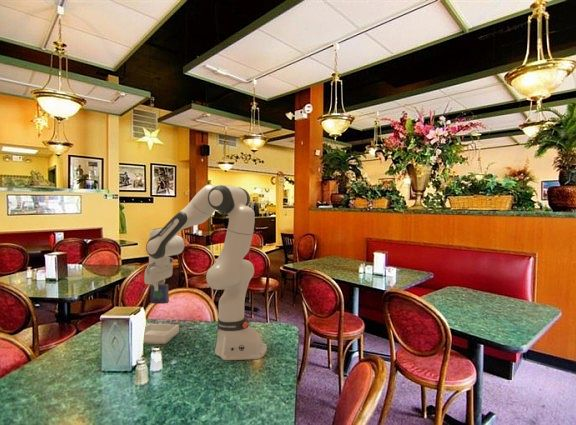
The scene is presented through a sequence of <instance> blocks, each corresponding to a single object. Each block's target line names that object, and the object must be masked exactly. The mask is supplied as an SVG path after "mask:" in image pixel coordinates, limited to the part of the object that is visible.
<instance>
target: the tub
mask: <svg viewBox="0 0 576 425" xmlns="http://www.w3.org/2000/svg"><path fill="white" fill-rule="evenodd" d="M145 326H146V327H145V334H144V343H143V344H148V345H166V344H167V343H168V342H170V341H171V340H172V339H173V338H174V337H175V336H177V335H178V334H180V325H179V324H169V323H167V324H166V323H146V325H145Z"/></svg>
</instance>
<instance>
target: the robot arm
mask: <svg viewBox="0 0 576 425" xmlns="http://www.w3.org/2000/svg"><path fill="white" fill-rule="evenodd" d="M250 202H251V196H250V193H249V192H248V191H247V190H246V189H245V188H242V187H240V186H239V187H237V186H233V185H213V184H206V185H205V186H204V187H203V186H202V188H201V189H200V190H199V191H198V192H197V193H196V194H195V195H194V197H192V199H191V200H190V202H188V203H187V204H186V205H185V207H184V208H182V209H181V210H180V211H178V212H177V213H176V214H175V215H174V216H173V217H172V218H171V219H170V220H169V221H168V222H167V223H165V225H164V226H163V227H159V228H154V229H152V230H151V231H150V232H149V237H148V240H147V242H146V245H145V251H146V253H147V254H148V264H147V266H146V268H145V269H144V270H145V271H144V275H143V276H144V279H143V280H144V284H145V285H151V284H153V286H154V290H155V291H158V290H159V287H158V281H161V282H160V284H165V283H166V279H169V278H170V277H172V275H173V272H174V271H173V269H174V268H173V267H174V266H173V265H174V264H173V263H174V258H172V256H177V255H180V254H182V253H183V252H184V250H185V247H186V246H185V245H186V244H185V243H186V242H185V240H184V238H183V237H182V236H181V235H178V234H179V233H180V232H181V231H183V230H184V229H185V230H186V229H187V228H190V227H194V226H199V225H202V224H203V223H205V222H206V221H208V219H210V217H212V215H213V213H215V211H217V212H219V213H220V214H222V215H224V216H225V215H227V216H228V225H227V230H226V235H225V239H224V242H223V245H222V249H221V251H220V253H219V255H218V257H217V259H216V260H215V262H214V263H213V265H211V267H209V269H208V270H207V271H206V275H205V277H206V279H205V280H206V283H207V285H208V287H209V288H210V289H213V290H214V291H215V290H221V291H222V290H223V293H222V295H221V296H220V298H219V301H218V318H217V324H216V326H217V327H216V328H217V338H216V346H215V349H214V354H215V355H216V356H218V357H220V358H221V360H223V361H237V360H238V361H239V360H240V361H241V360H242V361H243V360H259V359H261V358H263V357H264V356H265V355H266V353H267V351H268V346H267V344H266V343H264V342H263V341H262V336H261V334H260V333H259V332H258V331H256V330H255V329H254V328H253V327H251V326H250V325H249V324H250V318H249V317H248V318H247V317H246V316H245V300H246V294H247V290H248V287H249V285H250V281H251V279H252V278H253V277H254V275H255V267H254V265H253V263H252V262H251V261H250V260H247V259H244V258H245V257H246V255H247V254H248V253H249V251H250V250H251V245H252V239H253V235H254V230H255V229H254V228H255V221H256V220H255V217H256V216H255V215H256V213H255V210H253V208H251V207H250V206H249V205H250Z"/></svg>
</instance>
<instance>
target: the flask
mask: <svg viewBox="0 0 576 425" xmlns="http://www.w3.org/2000/svg"><path fill="white" fill-rule="evenodd" d="M160 282H161V281H158V287H159V290H158V291H155V290H154V286H153V284H149V285H150V286H149V288H150V289H149V290H150V299H149V300H150V304H155V305H157V304H159V305H160V304H168V303H170V301H169V300H170V298H169V297H170V296H169V295H170V294H169V284H168V283H166V284H165V283H164V284H160Z"/></svg>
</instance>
